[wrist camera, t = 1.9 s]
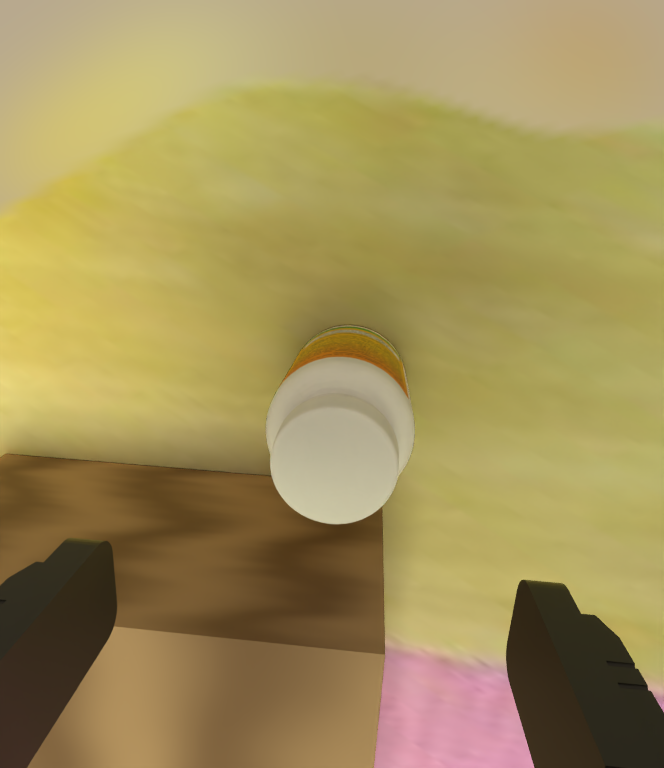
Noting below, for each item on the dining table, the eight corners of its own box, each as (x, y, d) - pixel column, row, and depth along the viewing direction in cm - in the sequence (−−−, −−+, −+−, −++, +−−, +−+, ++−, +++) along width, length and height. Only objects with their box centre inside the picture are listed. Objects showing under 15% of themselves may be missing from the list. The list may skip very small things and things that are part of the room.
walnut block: (381, 485, 27) (384, 654, 16) (356, 774, 33) (346, 1036, 22) (5, 453, 28) (-219, 591, 17) (47, 737, 34) (-102, 968, 23)
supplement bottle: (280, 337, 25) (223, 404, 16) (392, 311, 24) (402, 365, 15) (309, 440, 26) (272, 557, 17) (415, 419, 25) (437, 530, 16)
